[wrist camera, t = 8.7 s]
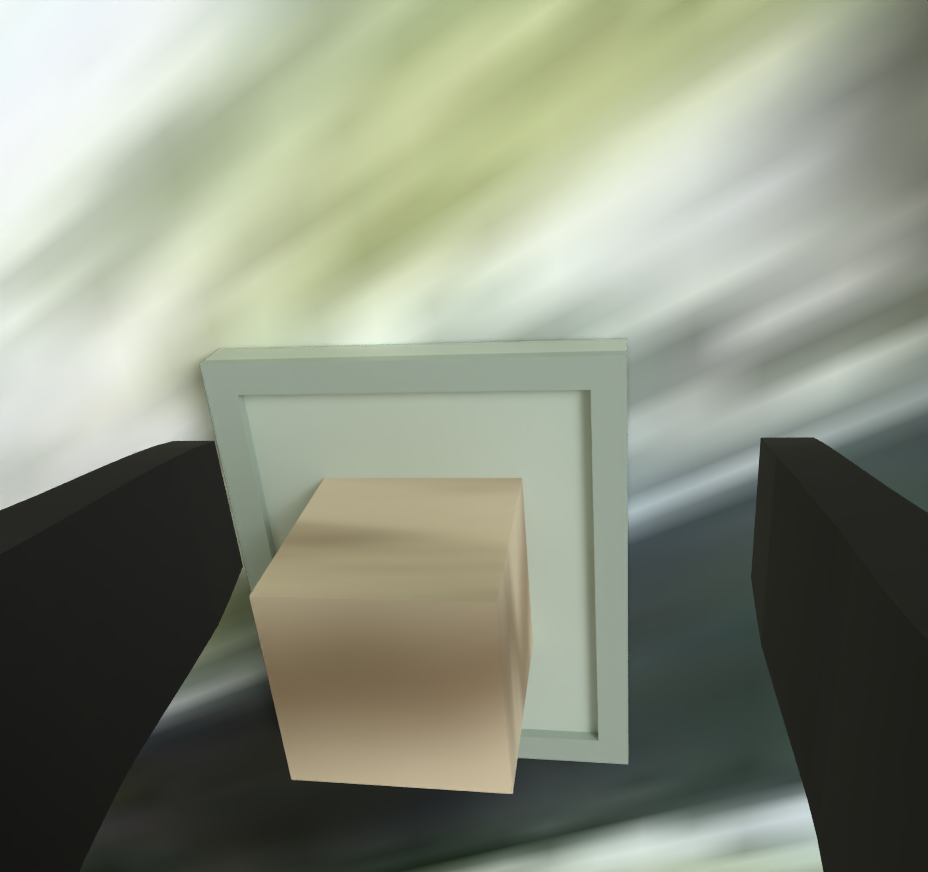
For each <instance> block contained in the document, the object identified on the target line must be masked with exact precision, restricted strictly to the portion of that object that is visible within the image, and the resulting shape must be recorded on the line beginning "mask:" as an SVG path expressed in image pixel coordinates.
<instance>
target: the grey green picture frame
mask: <svg viewBox="0 0 928 872" xmlns="http://www.w3.org/2000/svg"><path fill="white" fill-rule="evenodd" d="M200 369H201V373H202V378H203V382H204V386H205V391H206V395H207V400H208V404H209V409H210V413H211V418H212V422H213V426H214V431H215V435H216V440H217V444H218V449H219V453H220V457H221V462H222V466H223V471H224V475H225V480H226V484H227V488H228V493H229V497H230V502H231V506H232V511H233V515H234V519H235V524H236V528H237V533H238V537H239V542H240V546H241V550H242V555H243V559H244V564H245V568H246V573H247V577H248V581H249V586H250V590H251V593H252V591H253V590H254V588H255V586H256V585H257V583H258V582H259V580H260V579H261V577H262V575H263V574H264V572H265V571H266V569H267V567H268V566H269V564H270V563H271V561H272V560H273V558H274V556H275V555H276V553H277V552H278V550H279V549H280V547H281V545H282V544H283V542H284V541H285V539H286V537H287V536H288V534H289V533H290V531H291V530H292V528H293V526H294V525H295V523H296V522H297V520H298V519H299V517H300V515H301V514H302V512H303V511H304V509H305V508H306V506H307V504H308V503H309V501H310V500H311V498H312V496H313V495H314V493H315V492H316V490H317V489H318V487H319V485H320V484H321V482H322V481H323V479H324V478H522V484H523V499H524V515H525V530H526V546H527V561H528V576H529V592H530V607H531V622H532V638H533V647H532V654H531V661H530V669H529V676H528V684H527V691H526V698H525V706H524V713H523V721H522V728H521V735H520V743H519V750H518V758H531V759H548V760H565V761H581V762H598V763H615V764H628V509H627V338H624V339H585V340H547V341H508V342H469V343H431V344H392V345H353V346H315V347H276V348H237V349H218V350H217V351H216V352H214V353H213V354H212V355H211V356H210V357H208V358H207V359H206V360H205V361H204V362H202V363H201V364H200Z"/></svg>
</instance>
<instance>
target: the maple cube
mask: <svg viewBox="0 0 928 872" xmlns="http://www.w3.org/2000/svg"><path fill="white" fill-rule="evenodd" d="M249 598H250V602H251V606H252V610H253V615H254V619H255V623H256V628H257V632H258V636H259V641H260V645H261V649H262V654H263V658H264V662H265V667H266V671H267V675H268V680H269V684H270V688H271V693H272V697H273V701H274V706H275V710H276V714H277V719H278V723H279V727H280V732H281V736H282V740H283V745H284V749H285V753H286V758H287V762H288V766H289V771H290V775H291V779H292V780H307V781H322V782H337V783H353V784H368V785H384V786H399V787H414V788H430V789H445V790H461V791H476V792H492V793H507V794H513V787H514V780H515V772H516V765H517V758H518V750H519V743H520V735H521V728H522V721H523V713H524V706H525V698H526V691H527V684H528V676H529V669H530V661H531V654H532V647H533V638H532V622H531V607H530V592H529V576H528V561H527V546H526V530H525V515H524V499H523V484H522V478H324V479H323V481H322V482H321V484H320V485H319V487H318V489H317V490H316V492H315V493H314V495H313V496H312V498H311V500H310V501H309V503H308V504H307V506H306V508H305V509H304V511H303V512H302V514H301V515H300V517H299V519H298V520H297V522H296V523H295V525H294V526H293V528H292V530H291V531H290V533H289V534H288V536H287V537H286V539H285V541H284V542H283V544H282V545H281V547H280V549H279V550H278V552H277V553H276V555H275V556H274V558H273V560H272V561H271V563H270V564H269V566H268V567H267V569H266V571H265V572H264V574H263V575H262V577H261V579H260V580H259V582H258V583H257V585H256V586H255V588H254V590H253V591H252V593H251V594H250V596H249Z"/></svg>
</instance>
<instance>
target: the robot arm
mask: <svg viewBox="0 0 928 872" xmlns="http://www.w3.org/2000/svg"><path fill="white" fill-rule="evenodd" d="M242 567H243V565H242V561H241V556H240V552H239V548H238V543H237V539H236V534H235V530H234V526H233V521H232V517H231V512H230V508H229V504H228V499H227V495H226V490H225V486H224V482H223V477H222V473H221V468H220V464H219V460H218V455H217V451H216V446H215V442H214V441H172V442H168V443H165V444H161V445H157V446H154V447H151V448H148V449H145V450H143V451H140V452H137V453H135V454H132V455H130V456H127V457H125V458H122V459H120V460H117V461H115V462H113V463H110V464H108V465H106V466H103V467H101V468H99V469H96V470H94V471H92V472H89V473H87V474H85V475H82V476H80V477H78V478H76V479H73V480H71V481H69V482H67V483H64V484H62V485H60V486H57V487H55V488H53V489H51V490H48V491H46V492H44V493H41V494H39V495H37V496H34V497H32V498H30V499H27V500H25V501H22V502H20V503H17V504H15V505H12V506H10V507H8V508H5V509H3V510H0V872H79V871H80V869H81V866H82V864H83V862H84V859H85V857H86V855H87V853H88V851H89V849H90V847H91V845H92V843H93V841H94V839H95V836H96V834H97V832H98V830H99V828H100V826H101V824H102V822H103V820H104V818H105V816H106V814H107V812H108V810H109V808H110V805H111V803H112V801H113V799H114V797H115V795H116V793H117V791H118V789H119V787H120V785H121V783H122V782H123V780H124V778H125V776H126V775H127V773H128V771H129V769H130V768H131V766H132V764H133V762H134V761H135V759H136V757H137V755H138V754H139V752H140V751H141V749H142V747H143V746H144V744H145V743H146V741H147V739H148V738H149V736H150V735H151V733H152V731H153V730H154V728H155V727H156V725H157V723H158V722H159V720H160V719H161V717H162V715H163V714H164V712H165V711H166V709H167V707H168V706H169V704H170V703H171V701H172V699H173V698H174V696H175V695H176V693H177V692H178V690H179V688H180V687H181V685H182V684H183V682H184V680H185V679H186V677H187V676H188V674H189V672H190V671H191V669H192V668H193V666H194V664H195V663H196V661H197V659H198V658H199V656H200V654H201V653H202V651H203V649H204V648H205V646H206V645H207V643H208V641H209V640H210V638H211V636H212V635H213V633H214V631H215V629H216V628H217V626H218V624H219V622H220V620H221V617H222V615H223V613H224V611H225V608H226V606H227V604H228V602H229V600H230V597H231V595H232V592H233V590H234V587H235V584H236V582H237V579H238V577H239V574H240V572H241V569H242ZM751 580H752V587H753V594H754V601H755V608H756V615H757V621H758V627H759V633H760V640H761V645H762V649H763V652H764V656H765V659H766V663H767V666H768V669H769V673H770V676H771V680H772V683H773V686H774V690H775V693H776V696H777V700H778V703H779V706H780V710H781V713H782V716H783V720H784V723H785V726H786V730H787V733H788V736H789V739H790V743H791V746H792V749H793V753H794V756H795V759H796V763H797V766H798V769H799V773H800V776H801V779H802V783H803V786H804V789H805V792H806V796H807V799H808V803H809V807H810V811H811V815H812V819H813V823H814V827H815V831H816V835H817V839H818V845H819V850H820V855H821V861H822V866H823V871H824V872H928V513H927V512H926V511H924V510H922V509H921V508H919V507H918V506H916V505H914V504H913V503H911V502H910V501H908V500H907V499H905V498H904V497H902V496H901V495H899V494H898V493H896V492H895V491H893V490H892V489H890V488H889V487H887V486H886V485H884V484H883V483H881V482H880V481H878V480H877V479H875V478H874V477H873V476H871V475H870V474H868V473H867V472H865V471H864V470H862V469H861V468H860V467H858V466H857V465H855V464H854V463H852V462H851V461H849V460H848V459H847V458H845V457H844V456H842V455H841V454H839V453H838V452H836V451H835V450H833V449H832V448H830V447H829V446H827V445H826V444H824V443H823V442H821V441H819V440H817V439H815V438H761V443H760V457H759V472H758V486H757V500H756V515H755V529H754V543H753V558H752V572H751Z"/></svg>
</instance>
